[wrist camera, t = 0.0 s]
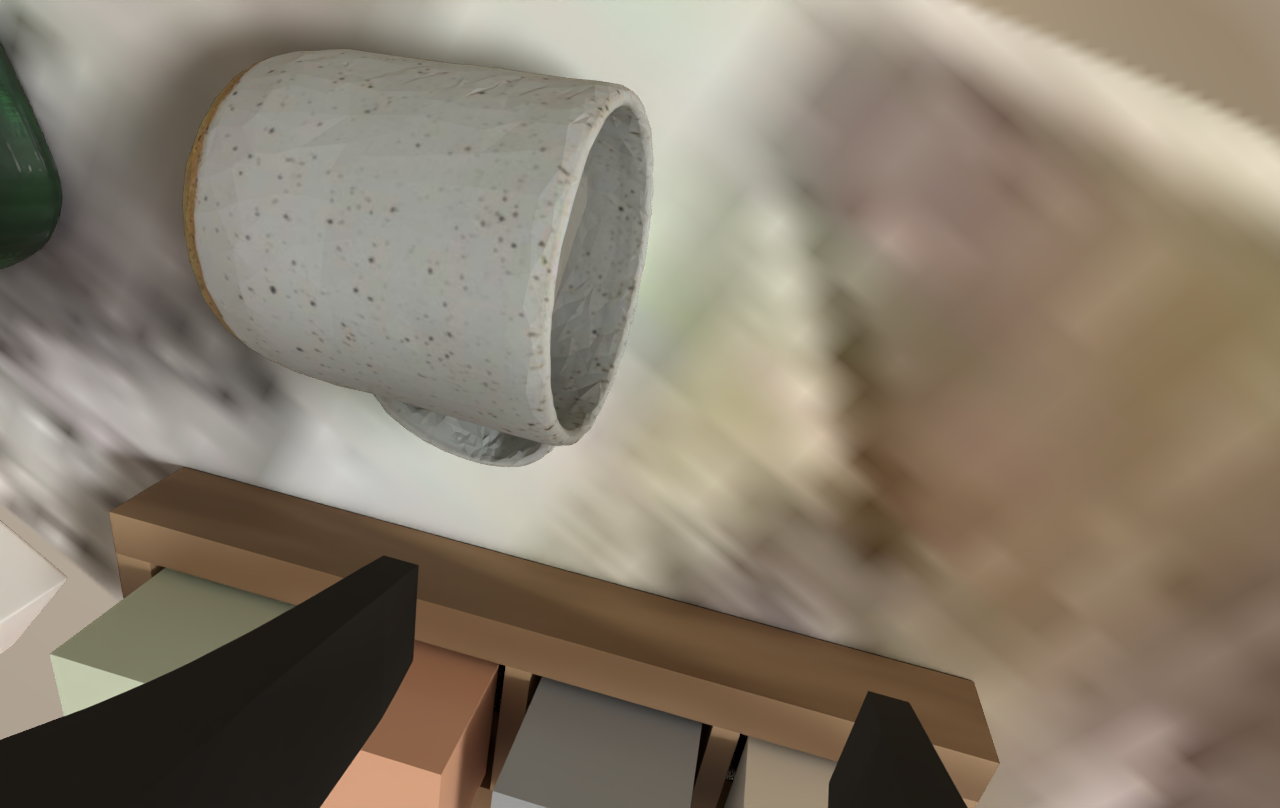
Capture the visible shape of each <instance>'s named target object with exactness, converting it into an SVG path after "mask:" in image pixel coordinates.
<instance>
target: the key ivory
mask: <svg viewBox="0 0 1280 808" xmlns="http://www.w3.org/2000/svg"><path fill="white" fill-rule="evenodd" d="M836 765H837V761H833V760H830V759H826V758H823V757H819V756H816V755H813V754H809V753H806V752H802V751H799V750H795V749H792V748H788V747H785V746H781V745H778V744H774V743H771V742H768V741H764V740H761V739H757V738H754V737H750V736H748V738H747V741H746V744H745V747H744V750H743V753H742V756H741V759H740V762H739V765H738V768H737V771H736V774H735V777H734V780H733V783H732V785H731V788H730V791H729V794H728V797H727V800H726V803H725V806H724V808H828V790H829V781H830V779H831V776H832V774H833V772H834V769H835V767H836Z"/></svg>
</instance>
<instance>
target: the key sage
mask: <svg viewBox="0 0 1280 808" xmlns="http://www.w3.org/2000/svg"><path fill="white" fill-rule="evenodd" d="M295 606H297V605H294V604H290V603H287V602H283V601H280V600H276V599H273V598H270V597H266V596H263V595H259V594H256V593H252V592H249V591H245V590H242V589H238V588H235V587H231V586H228V585H225V584H221V583H218V582H214V581H211V580H207V579H204V578H200V577H197V576H193V575H190V574H187V573H183V572H180V571H176V570H173V569H169V568H165V569H163V570H162V571H160V572H159V573H158V574H156V575H155V576H154V577H152V578H151V579H150V580H148V581H147V582H146V583H144V584H143V585H142V586H140V587H139V588H138V589H136V590H135V591H134V592H132V593H131V594H130V595H128V596H127V597H126V598H124V599H123V600H121V601H120V602H119V603H117V604H116V605H115V606H113V607H112V608H111V609H109V610H108V611H107V612H105V613H104V614H103V615H102V616H100V617H99V618H97V619H96V620H95V621H93V622H92V623H91V624H89V625H88V626H87V627H85V628H84V629H82V630H81V631H80V632H79V633H77V634H76V635H74V636H73V637H72V638H70V639H69V640H68V641H66V642H65V643H64V644H63V645H61V646H60V647H58V648H57V649H56V650H54V651H53V652H52V653H50V658H51V662H52V666H53V670H54V675H55V679H56V683H57V688H58V692H59V696H60V700H61V705H62V709H63V713H64V716H66V715H69V714H72V713H74V712H77V711H80V710H82V709H85V708H88V707H90V706H93V705H95V704H97V703H100V702H102V701H105V700H107V699H110V698H112V697H114V696H117V695H119V694H121V693H124V692H126V691H128V690H131V689H133V688H135V687H138V686H140V685H142V684H145V683H147V682H149V681H151V680H154V679H156V678H158V677H160V676H162V675H164V674H167V673H169V672H171V671H173V670H175V669H177V668H179V667H182V666H184V665H186V664H188V663H190V662H192V661H194V660H196V659H198V658H200V657H202V656H204V655H206V654H208V653H209V652H211V651H213V650H215V649H217V648H219V647H221V646H223V645H225V644H227V643H229V642H231V641H233V640H235V639H237V638H239V637H241V636H243V635H245V634H247V633H248V632H250V631H252V630H254V629H256V628H258V627H259V626H261V625H263V624H265V623H267V622H268V621H270V620H272V619H274V618H275V617H277V616H279V615H281V614H283V613H284V612H286V611H288V610H290V609H291V608H293V607H295Z"/></svg>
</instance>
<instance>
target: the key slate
mask: <svg viewBox="0 0 1280 808" xmlns="http://www.w3.org/2000/svg"><path fill="white" fill-rule="evenodd" d="M701 728H702V722H698V721H695V720H691V719H688V718H685V717H681V716H678V715H674V714H671V713H667V712H664V711H660V710H657V709H653V708H650V707H647V706H643V705H640V704H636V703H633V702H629V701H626V700H622V699H619V698H615V697H612V696H608V695H605V694H602V693H598V692H595V691H591V690H588V689H584V688H581V687H577V686H574V685H570V684H567V683H563V682H560V681H557V680H553V679H550V678H546V677H543V676H542V678H541V680H540V683H539V685H538V687H537V690H536V692H535V694H534V697H533V699H532V701H531V704H530V706H529V708H528V710H527V713H526V715H525V717H524V720H523V722H522V724H521V727H520V729H519V731H518V734H517V736H516V738H515V741H514V743H513V745H512V748H511V750H510V752H509V755H508V757H507V759H506V761H505V764H504V766H503V768H502V771H501V773H500V775H499V778H498V780H497V782H496V785H495V787H494V789H493V793H492V801H491V808H690V806H691V799H692V792H693V785H694V777H695V770H696V763H697V756H698V749H699V742H700V735H701Z"/></svg>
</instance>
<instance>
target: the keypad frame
mask: <svg viewBox="0 0 1280 808" xmlns="http://www.w3.org/2000/svg"><path fill="white" fill-rule="evenodd" d="M109 515H110V521H111V527H112V533H113V538H114V544H115V550H116V556H117V562H118V568H119V574H120V580H121V586H122V592H123V598H126V597H127V596H128V595H130V594H131V593H132V592H134V591H135V590H136V589H138V588H139V587H140V586H142V585H143V584H144V583H146V582H147V581H148V580H150V579H151V578H152V577H154V576H155V575H156V574H158V573H159V572H160V571H162V570H163V569H165V568H169V569H173V570H176V571H180V572H183V573H187V574H190V575H193V576H197V577H200V578H204V579H207V580H211V581H214V582H218V583H221V584H225V585H228V586H231V587H235V588H238V589H242V590H245V591H249V592H252V593H256V594H259V595H263V596H266V597H270V598H273V599H276V600H280V601H283V602H287V603H290V604H294V605H299V604H300V603H302V602H304V601H306V600H307V599H309V598H311V597H312V596H314V595H316V594H318V593H319V592H321V591H323V590H324V589H326V588H328V587H330V586H331V585H333V584H335V583H336V582H338V581H340V580H341V579H343V578H345V577H346V576H348V575H350V574H352V573H353V572H355V571H357V570H358V569H360V568H362V567H364V566H365V565H367V564H369V563H371V562H373V561H374V560H376V559H378V558H380V557H381V556H383V555H385V556H388V557H392V558H395V559H399V560H402V561H406V562H410V563H413V564H417V565H419V569H418V587H417V604H416V622H415V640H418V641H422V642H425V643H429V644H432V645H436V646H439V647H442V648H446V649H449V650H453V651H456V652H460V653H463V654H467V655H470V656H474V657H477V658H480V659H484V660H487V661H491V662H494V663H498V664H501V665H505V666H506V667H505V675H504V683H503V691H502V699H501V707H500V713H499V712H495V711H493V717H492V726H491V734H490V742H489V750H488V759H487V767H486V774H485V776H484V778H483V780H482V783H481V785H480V787H479V789H478V791H477V794H476V796H475V798H474V800H473V802H472V805H471V807H470V808H491V801H492V793H493V789H494V787H495V785H496V782H497V780H498V778H499V775H500V773H501V771H502V768H503V766H504V764H505V761H506V759H507V757H508V755H509V752H510V750H511V748H512V745H513V743H514V741H515V738H516V736H517V734H518V731H519V729H520V727H521V724H522V722H523V720H524V717H525V715H526V713H527V710H528V708H529V706H530V704H531V701H532V699H533V697H534V694H535V692H536V690H537V687H538V685H539V683H540V680H541V678H542V676H543V677H546V678H550V679H553V680H557V681H560V682H563V683H567V684H570V685H574V686H577V687H581V688H584V689H588V690H591V691H595V692H598V693H602V694H605V695H608V696H612V697H615V698H619V699H622V700H626V701H629V702H633V703H636V704H640V705H643V706H647V707H650V708H653V709H657V710H660V711H664V712H667V713H671V714H674V715H678V716H681V717H685V718H688V719H691V720H695V721H698V722H702V728H701V735H700V742H699V749H698V756H697V763H696V770H695V777H694V785H693V792H692V799H691V806H690V808H724V806H725V803H726V800H727V797H728V794H729V791H730V788H731V785H732V783H733V782H731V781H728V780H725V778H726V775H727V772H728V769H729V766H730V763H731V760H732V757H733V754H734V751H735V748H736V745H737V742H738V739H739V736H740V734H743V735H747V736H750V737H754V738H757V739H761V740H764V741H768V742H771V743H774V744H778V745H781V746H785V747H788V748H792V749H795V750H799V751H802V752H806V753H809V754H813V755H816V756H819V757H823V758H826V759H830V760H833V761H837V762H838V760H839V758H840V755H841V753H842V751H843V748H844V746H845V744H846V741H847V739H848V737H849V734H850V732H851V730H852V727H853V725H854V723H855V720H856V718H857V716H858V713H859V711H860V709H861V706H862V704H863V702H864V699H865V697H866V695H867V692H868V691H871V692H874V693H878V694H882V695H885V696H889V697H892V698H896V699H899V700H903V701H907V702H909V703H910V704H911V706H912V708H913V710H914V711H915V713H916V715H917V717H918V719H919V720H920V722H921V724H922V726H923V728H924V729H925V731H926V733H927V735H928V737H929V739H930V740H931V742H932V744H933V746H934V748H935V750H936V752H937V753H938V755H939V757H940V759H941V761H942V762H943V764H944V766H945V768H946V770H947V772H948V773H949V775H950V777H951V779H952V780H953V782H954V784H955V786H956V788H957V789H958V791H959V793H960V795H961V797H962V798H963V800H964V802H965V804H966V805H967V807H968V808H975V807H976V805H977V803H978V801H979V800H980V798H981V796H982V794H983V793H984V791H985V789H986V787H987V785H988V784H989V782H990V780H991V778H992V777H993V775H994V773H995V771H996V769H997V768H998V766H999V764H1000V762H999V759H998V756H997V753H996V750H995V747H994V743H993V740H992V737H991V734H990V731H989V728H988V725H987V722H986V718H985V715H984V712H983V709H982V706H981V703H980V700H979V697H978V693H977V690H976V687H975V684H974V682H973V681H969V680H965V679H962V678H958V677H954V676H951V675H947V674H943V673H940V672H936V671H932V670H929V669H925V668H921V667H918V666H914V665H910V664H907V663H903V662H899V661H896V660H892V659H888V658H885V657H881V656H877V655H873V654H870V653H866V652H862V651H859V650H855V649H851V648H848V647H844V646H840V645H837V644H833V643H829V642H826V641H822V640H818V639H815V638H811V637H807V636H804V635H800V634H796V633H793V632H789V631H785V630H782V629H778V628H774V627H770V626H767V625H763V624H759V623H756V622H752V621H748V620H745V619H741V618H737V617H734V616H730V615H726V614H723V613H719V612H715V611H712V610H708V609H704V608H701V607H697V606H693V605H690V604H686V603H682V602H679V601H675V600H671V599H667V598H664V597H660V596H656V595H653V594H649V593H645V592H642V591H638V590H634V589H631V588H627V587H623V586H620V585H616V584H612V583H609V582H605V581H601V580H598V579H594V578H590V577H587V576H583V575H579V574H576V573H572V572H568V571H564V570H561V569H557V568H553V567H550V566H546V565H542V564H539V563H535V562H531V561H528V560H524V559H520V558H517V557H513V556H509V555H506V554H502V553H498V552H495V551H491V550H487V549H484V548H480V547H476V546H473V545H469V544H465V543H461V542H458V541H454V540H450V539H447V538H443V537H439V536H436V535H432V534H428V533H425V532H421V531H417V530H414V529H410V528H406V527H403V526H399V525H395V524H392V523H388V522H384V521H381V520H377V519H373V518H370V517H366V516H362V515H358V514H355V513H351V512H347V511H344V510H340V509H336V508H333V507H329V506H325V505H322V504H318V503H314V502H311V501H307V500H303V499H300V498H296V497H292V496H289V495H285V494H281V493H278V492H274V491H270V490H267V489H263V488H259V487H255V486H252V485H248V484H244V483H241V482H237V481H233V480H230V479H226V478H222V477H219V476H215V475H211V474H208V473H204V472H200V471H197V470H193V469H189V468H186V467H183V468H181V469H179V470H178V471H176V472H174V473H173V474H171V475H169V476H168V477H166V478H164V479H163V480H161V481H159V482H158V483H156V484H154V485H153V486H151V487H149V488H148V489H146V490H144V491H143V492H141V493H139V494H138V495H136V496H134V497H133V498H131V499H129V500H128V501H126V502H124V503H123V504H121V505H119V506H118V507H116V508H114V509H113V510H111V511H109Z"/></svg>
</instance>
